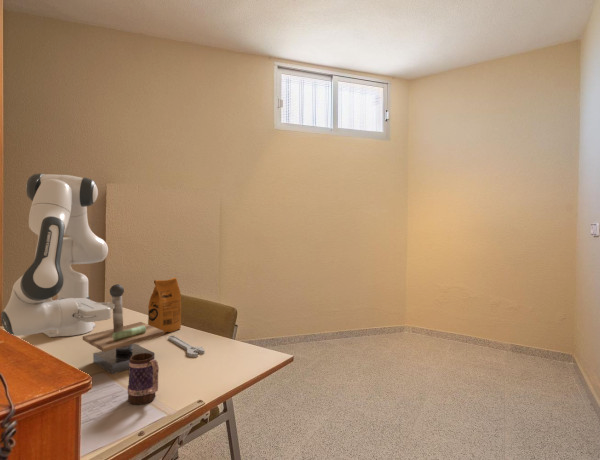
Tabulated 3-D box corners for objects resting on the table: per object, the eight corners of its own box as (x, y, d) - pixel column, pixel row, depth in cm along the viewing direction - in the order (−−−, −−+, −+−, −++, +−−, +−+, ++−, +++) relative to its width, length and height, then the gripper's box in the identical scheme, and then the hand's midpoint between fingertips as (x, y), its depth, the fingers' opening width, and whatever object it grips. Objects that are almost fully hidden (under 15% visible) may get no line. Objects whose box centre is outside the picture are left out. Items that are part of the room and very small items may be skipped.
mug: (122, 399, 106) (122, 355, 105) (147, 390, 111) (147, 348, 111) (142, 412, 100) (142, 365, 99) (167, 402, 105) (167, 357, 105)
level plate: (82, 339, 129) (80, 288, 128) (140, 325, 144) (139, 278, 143) (103, 351, 119) (101, 295, 118) (164, 334, 134) (162, 284, 133)
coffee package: (144, 331, 166) (144, 279, 165) (170, 324, 176) (170, 275, 175) (157, 336, 160) (158, 282, 159) (184, 329, 170) (184, 278, 169)
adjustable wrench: (167, 340, 157) (167, 335, 157) (182, 337, 161) (182, 333, 161) (190, 359, 137) (190, 354, 137) (207, 355, 141) (208, 350, 141)
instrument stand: (93, 362, 131) (93, 340, 131) (134, 351, 142) (134, 330, 142) (112, 374, 122) (112, 350, 122) (154, 361, 133) (154, 339, 132)
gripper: (80, 308, 115) (127, 301, 125) (55, 297, 128) (100, 291, 139) (80, 330, 115) (127, 320, 126) (56, 316, 129) (100, 309, 139)
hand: (112, 305), depth 132 cm, fingers closed, pressing on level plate
